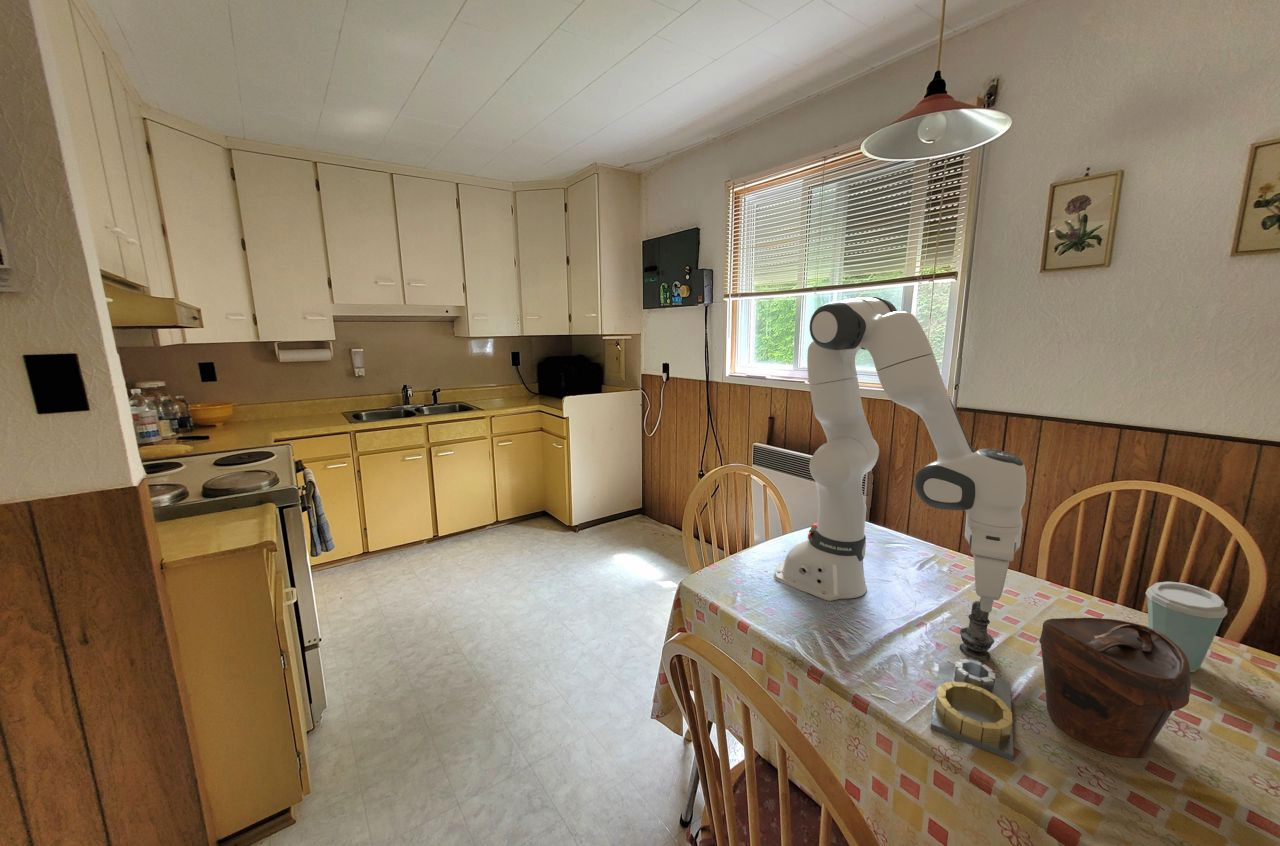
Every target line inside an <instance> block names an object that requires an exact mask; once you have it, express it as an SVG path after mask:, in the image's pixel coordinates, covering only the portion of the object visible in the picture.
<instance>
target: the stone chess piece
mask: <svg viewBox="0 0 1280 846" xmlns="http://www.w3.org/2000/svg"><path fill="white" fill-rule="evenodd" d="M980 604H981V598H980V599H979V600H975V601H973V602H972V604H971V612H970V614H969V615H967V616H968V617H967V618H968V619H969V624H968V627H967V626H966V627H963V628H960V630H959V635H960V638H961V641H962V643H960V644H959V650H960V651H961V653H963V654H964V655H966V656H967V657H968V658H971V659H973V660H976V661H977V660H978V661H988V660H990V658H991V653H990V652H989V650H990V649H991V648H992V646H993V645H994V644H995V639H994V637H993V636H992V635H991V634H990V633H988V626H989V624H990V623H991V621H990V620H989V615H990V612H985V611H982V610H981V609H980Z"/></svg>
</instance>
